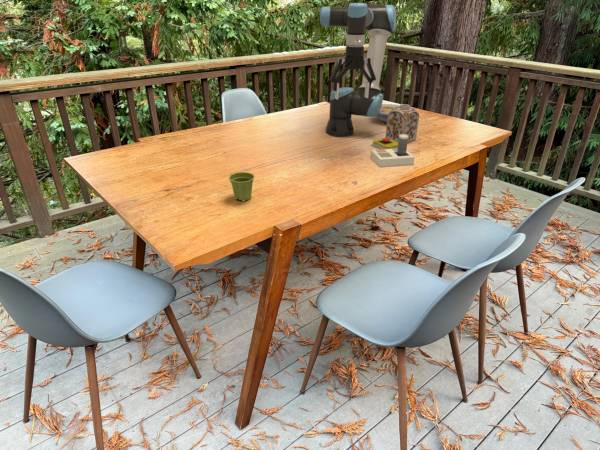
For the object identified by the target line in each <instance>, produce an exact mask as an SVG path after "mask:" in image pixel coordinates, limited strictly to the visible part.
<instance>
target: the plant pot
mask: <svg viewBox="0 0 600 450" xmlns="http://www.w3.org/2000/svg"><path fill="white" fill-rule="evenodd" d="M255 177H256V176H255V175H254V174H253V173H252V172H247V171H239V172H234V173H232V174H231V173H230V175H229V176H228V180H229V181H230V184H231V187H232V191H233V194H234V195H233V196H234V199H235V198H236V199H235V200H237V199H239V200H247V199H248V200H251V199H252V190H253V183H254V180H255ZM250 198H251V199H250ZM248 200H247V201H248Z"/></svg>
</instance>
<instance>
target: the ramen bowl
mask: <svg viewBox="0 0 600 450" xmlns="http://www.w3.org/2000/svg"><path fill="white" fill-rule="evenodd" d="M401 104H402V103H399V104H397V103H396V104H393V103H382V106H381V109H380V111H379V113H378V115H377V116H375V118H377V119H378V120H380V121H382V122H384V123H386V124H387V119H388V113H389V112H390V111H391V110H392V109H393V108H395V107H400V105H401Z"/></svg>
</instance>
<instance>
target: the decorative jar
mask: <svg viewBox="0 0 600 450" xmlns="http://www.w3.org/2000/svg"><path fill="white" fill-rule="evenodd" d="M400 104H401V105H400ZM400 104H399V105H400V107H395V108H393V109H392V110H391V111H390V112H389V113H388V119H387V123H386V127H385V136H384V138H387V139H390V140H392V141H395V142H398V141H399V135H400V134H406V135H408V143H407V144H409V143H411V142H415V141H416V138H417V133H418V128H419V122H420V121H419V120H420V113H419V112H418V110H416V109H415V108H414V107H411V106H410V104H407V103H406V104H405V103H400Z"/></svg>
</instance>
